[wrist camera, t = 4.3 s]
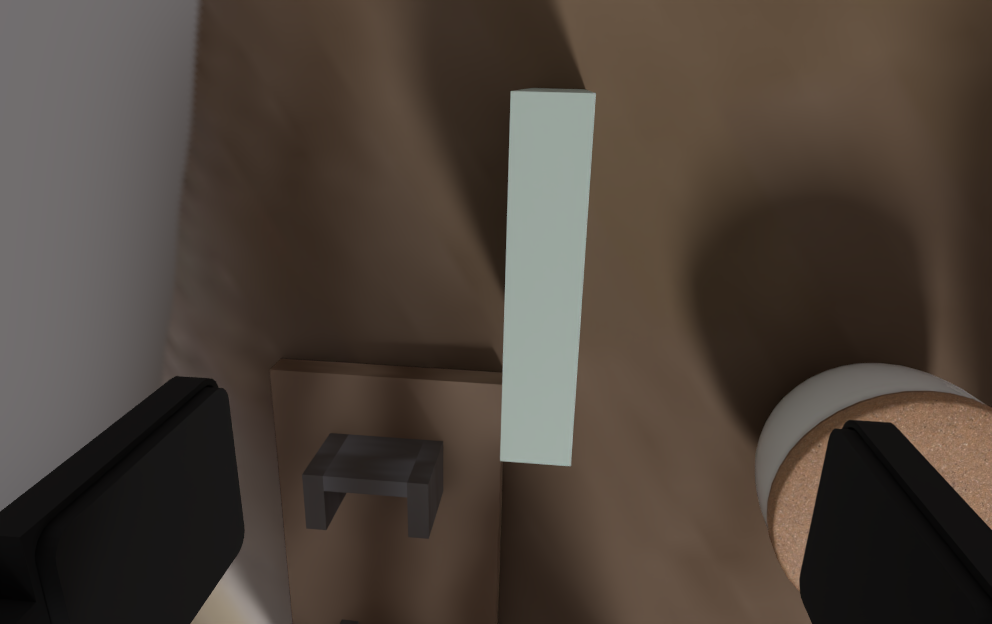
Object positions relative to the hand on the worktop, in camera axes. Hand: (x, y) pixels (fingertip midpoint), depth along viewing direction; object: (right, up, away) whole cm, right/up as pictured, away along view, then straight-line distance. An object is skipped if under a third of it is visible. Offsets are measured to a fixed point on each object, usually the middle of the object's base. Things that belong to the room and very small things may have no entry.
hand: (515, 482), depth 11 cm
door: (+2, +7, +22) cm, 23 cm away
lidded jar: (+17, -3, +24) cm, 30 cm away
